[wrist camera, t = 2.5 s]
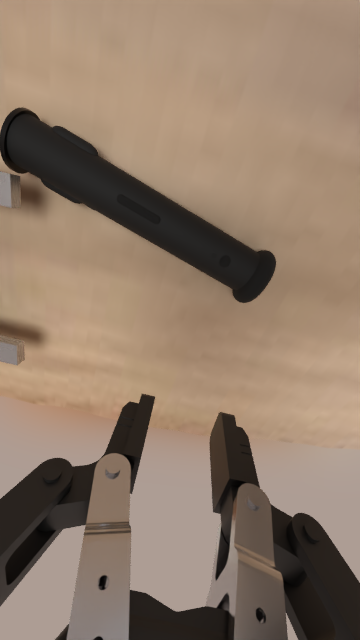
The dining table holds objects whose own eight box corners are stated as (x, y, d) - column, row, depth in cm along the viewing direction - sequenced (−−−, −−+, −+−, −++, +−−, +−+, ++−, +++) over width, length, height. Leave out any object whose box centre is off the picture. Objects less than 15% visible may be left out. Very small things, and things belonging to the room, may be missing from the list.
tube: (270, 253, 26) (288, 261, 21) (240, 296, 28) (249, 313, 23) (49, 117, 23) (6, 88, 18) (33, 178, 25) (-10, 167, 20)
